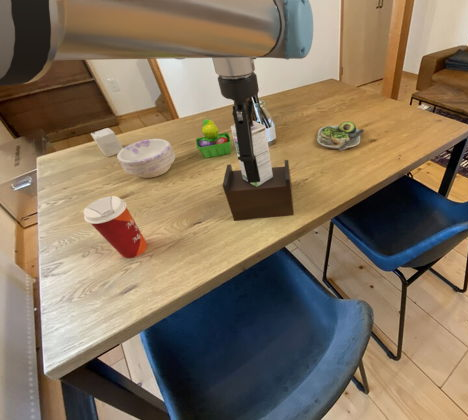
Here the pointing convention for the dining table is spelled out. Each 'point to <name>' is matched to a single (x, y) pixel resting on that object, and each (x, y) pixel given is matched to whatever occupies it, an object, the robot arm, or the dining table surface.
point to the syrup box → (257, 152)
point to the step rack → (259, 194)
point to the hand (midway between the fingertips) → (255, 165)
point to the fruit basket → (213, 141)
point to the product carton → (107, 142)
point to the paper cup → (116, 225)
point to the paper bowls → (147, 158)
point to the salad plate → (339, 136)
